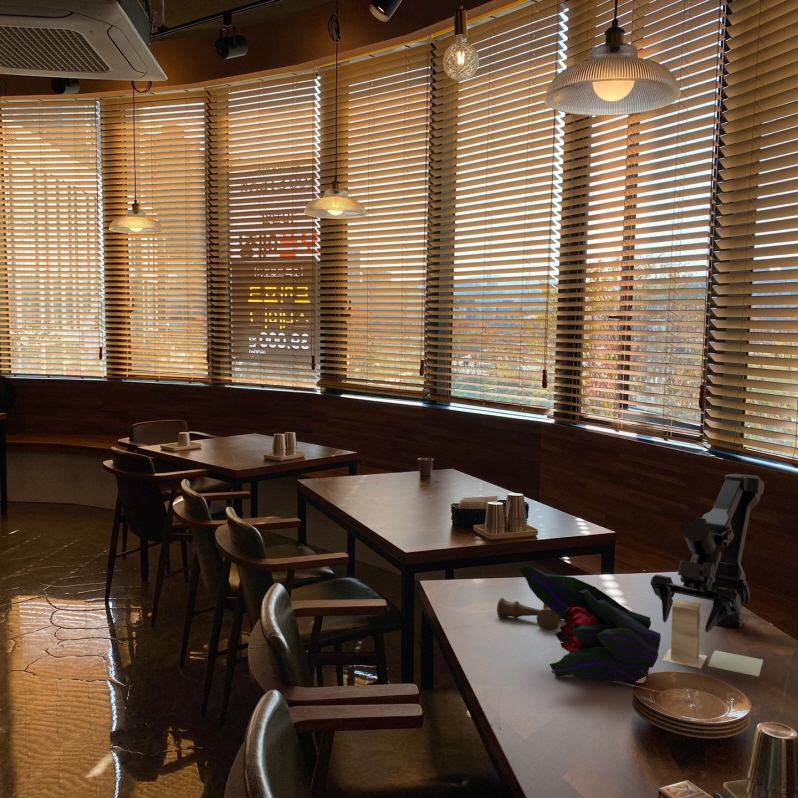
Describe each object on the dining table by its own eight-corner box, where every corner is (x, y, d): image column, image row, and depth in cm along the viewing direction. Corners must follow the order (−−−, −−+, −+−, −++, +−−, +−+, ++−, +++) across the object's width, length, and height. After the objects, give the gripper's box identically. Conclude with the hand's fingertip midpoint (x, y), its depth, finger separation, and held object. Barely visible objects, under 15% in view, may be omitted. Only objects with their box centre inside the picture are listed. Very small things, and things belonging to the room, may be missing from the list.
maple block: (675, 651, 169) (676, 599, 168) (698, 656, 166) (700, 603, 166) (670, 659, 165) (672, 605, 164) (694, 664, 162) (696, 609, 162)
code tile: (669, 649, 171) (669, 648, 171) (707, 657, 167) (707, 655, 167) (662, 661, 164) (662, 660, 164) (701, 669, 160) (701, 668, 160)
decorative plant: (635, 737, 150) (490, 687, 153) (632, 644, 172) (506, 602, 176) (673, 667, 139) (517, 615, 143) (665, 577, 162) (530, 535, 166)
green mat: (714, 652, 170) (714, 650, 170) (763, 661, 165) (763, 659, 165) (707, 667, 161) (707, 665, 161) (758, 677, 156) (758, 676, 156)
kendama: (503, 612, 197) (580, 622, 189) (493, 625, 188) (573, 636, 180) (503, 590, 196) (580, 599, 188) (492, 602, 188) (573, 611, 179)
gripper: (654, 540, 174) (634, 597, 166) (739, 554, 162) (722, 616, 154) (665, 566, 180) (646, 623, 172) (748, 582, 168) (732, 643, 161)
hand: (684, 626), depth 165 cm, fingers open, 9 cm apart
